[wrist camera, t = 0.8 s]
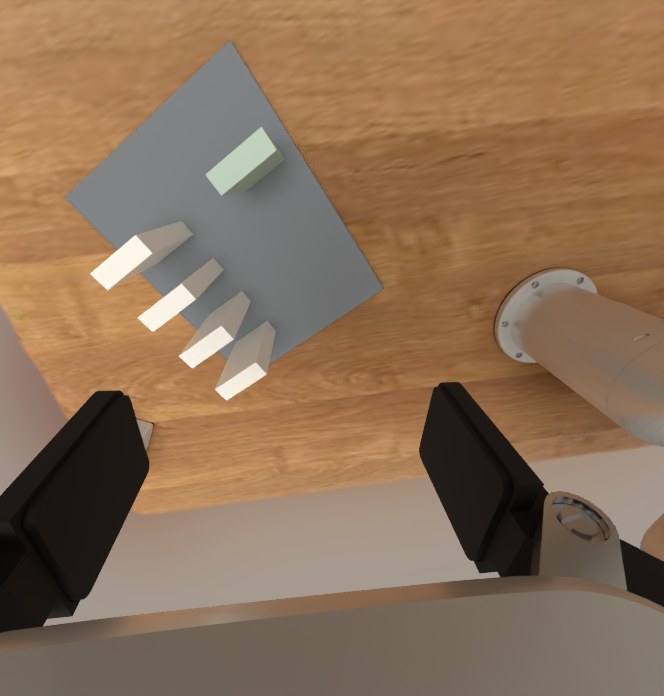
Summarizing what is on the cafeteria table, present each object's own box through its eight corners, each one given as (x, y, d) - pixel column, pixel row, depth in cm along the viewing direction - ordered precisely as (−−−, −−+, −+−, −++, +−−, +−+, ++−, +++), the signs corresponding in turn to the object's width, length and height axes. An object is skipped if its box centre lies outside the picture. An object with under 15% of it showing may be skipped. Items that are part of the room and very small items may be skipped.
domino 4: (275, 330, 39) (266, 374, 30) (244, 351, 40) (226, 400, 31) (267, 320, 38) (255, 362, 29) (235, 342, 39) (214, 389, 30)
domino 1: (193, 234, 33) (152, 253, 24) (159, 262, 34) (107, 290, 25) (181, 220, 32) (135, 235, 24) (146, 249, 33) (89, 273, 25)
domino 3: (251, 301, 37) (233, 339, 28) (218, 325, 38) (192, 368, 29) (241, 290, 36) (221, 325, 27) (208, 314, 37) (178, 356, 28)
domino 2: (223, 269, 35) (196, 299, 26) (190, 295, 36) (152, 332, 27) (213, 257, 34) (181, 283, 25) (179, 283, 35) (137, 317, 26)
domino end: (284, 159, 31) (276, 150, 22) (244, 192, 32) (221, 195, 23) (274, 143, 30) (261, 126, 21) (233, 176, 31) (205, 174, 22)
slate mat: (383, 287, 38) (384, 288, 37) (246, 377, 42) (245, 379, 42) (231, 41, 27) (230, 39, 26) (67, 197, 31) (64, 197, 31)
